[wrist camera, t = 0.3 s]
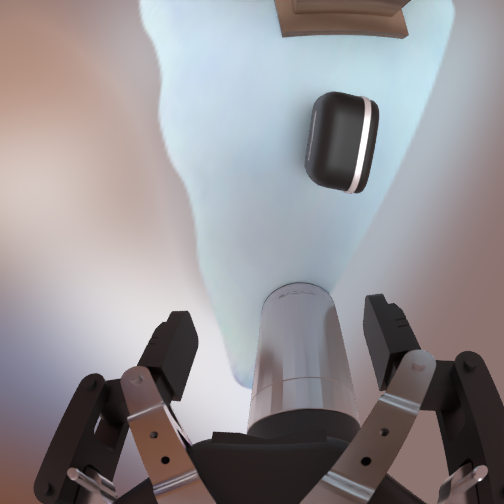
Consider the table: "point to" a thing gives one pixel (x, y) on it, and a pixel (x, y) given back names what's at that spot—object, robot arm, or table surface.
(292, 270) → the table surface
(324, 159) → the battery charger
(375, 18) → the pedestal
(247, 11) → the table surface
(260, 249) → the table surface
